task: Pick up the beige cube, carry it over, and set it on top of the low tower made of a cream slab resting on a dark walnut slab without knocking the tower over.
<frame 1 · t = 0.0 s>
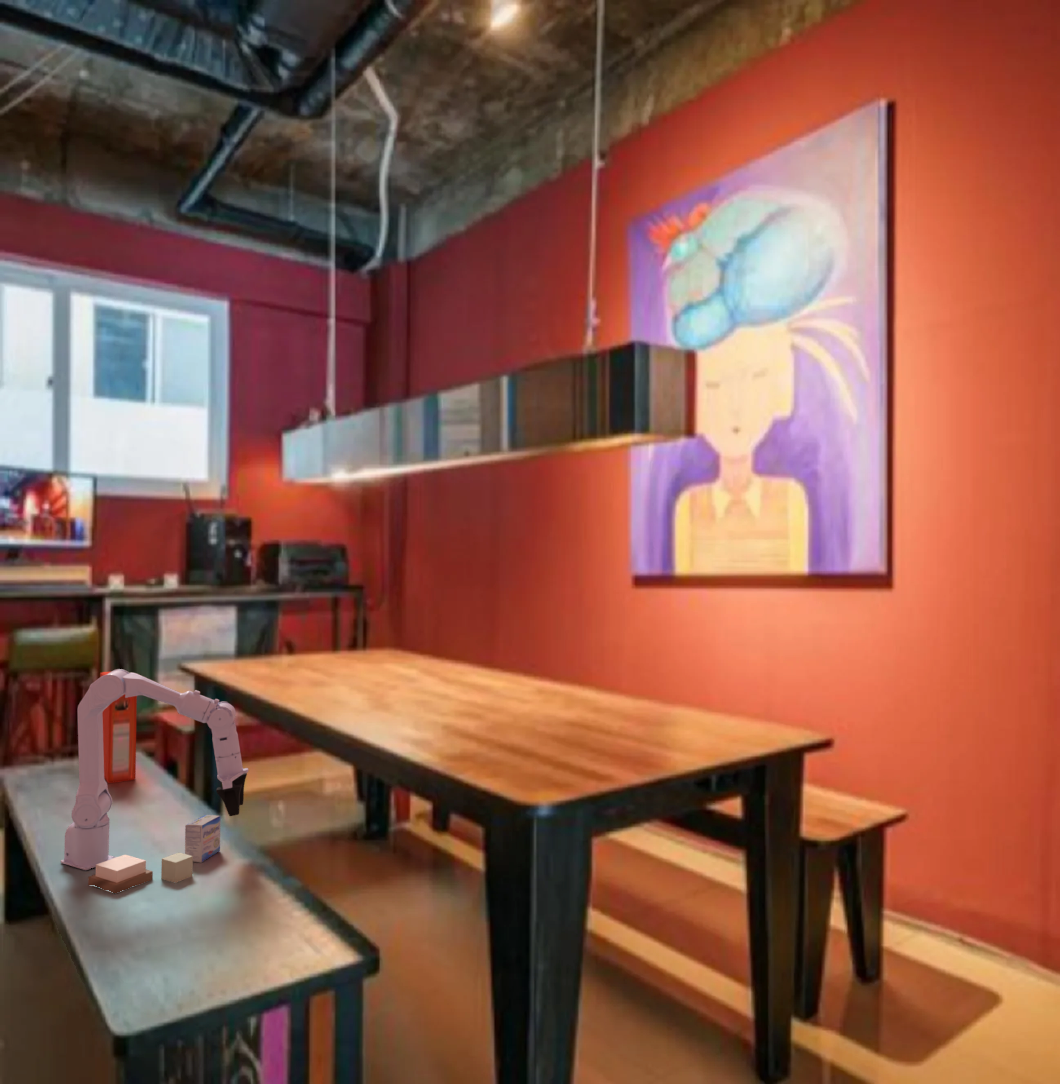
hand: (236, 810, 199), 11 cm above the bench, tool pointing down, fingers open, 7 cm apart
medicine box: (202, 857, 198), on the bench
beige cube: (176, 877, 185), on the bench
walnut base slab: (120, 885, 182), on the bench, touching cream top slab
cream top slab: (120, 874, 182), point 2 cm above the bench, touching walnut base slab
file binder: (116, 776, 266), on the bench
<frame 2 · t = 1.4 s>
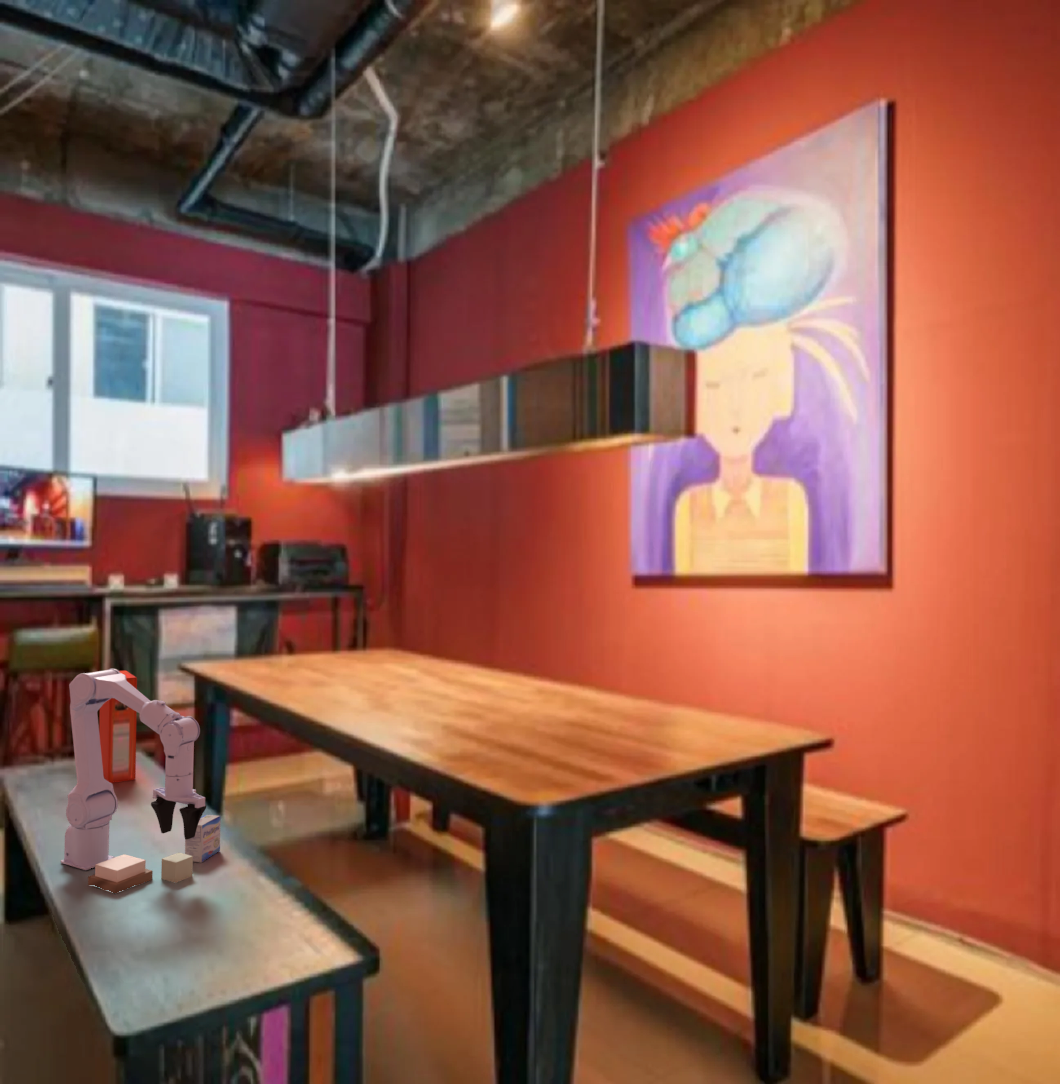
hand: (177, 835, 185), 9 cm above the bench, tool pointing down, fingers open, 7 cm apart
nothing on the bench moved.
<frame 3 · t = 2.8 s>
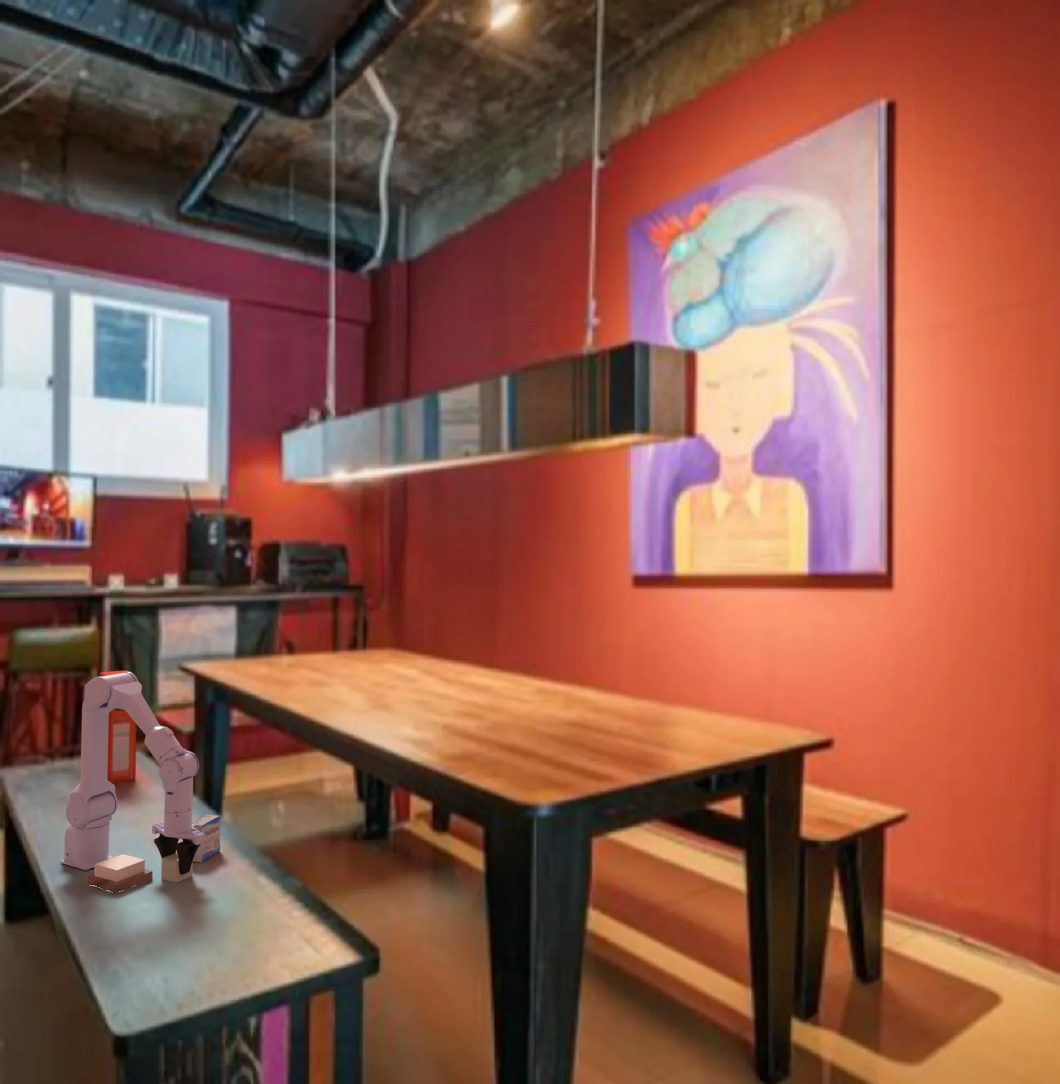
hand: (177, 870, 185), 1 cm above the bench, tool pointing down, fingers closed on beige cube, 4 cm apart
beige cube: (176, 877, 185), on the bench, touching gripper
everything else where it was.
when the fingers open (7 cm above the bench, at t = 5.8 s): beige cube drops 2 cm, point 4 cm above the bench.
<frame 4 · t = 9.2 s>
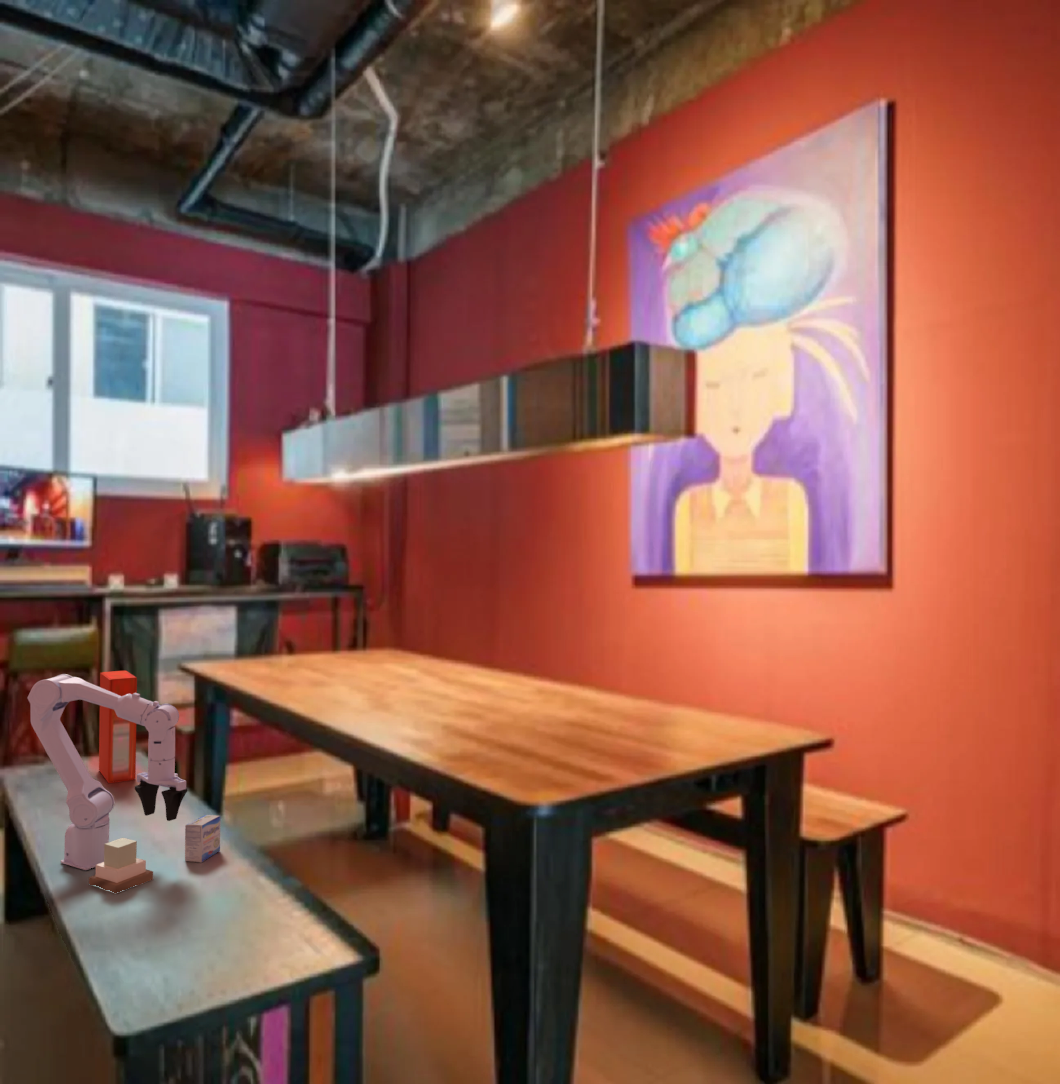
hand: (160, 817, 194), 10 cm above the bench, tool pointing down, fingers open, 7 cm apart
beige cube: (120, 863, 181), point 4 cm above the bench
everything else where it was.
at the end: beige cube 0.5 cm off-centre on the cream top slab, point 2.5 cm above the cream top slab's base; cream top slab 0.2 cm off-centre on the walnut base slab, point 2.5 cm above the walnut base slab's base; beige cube tilted 1° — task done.
